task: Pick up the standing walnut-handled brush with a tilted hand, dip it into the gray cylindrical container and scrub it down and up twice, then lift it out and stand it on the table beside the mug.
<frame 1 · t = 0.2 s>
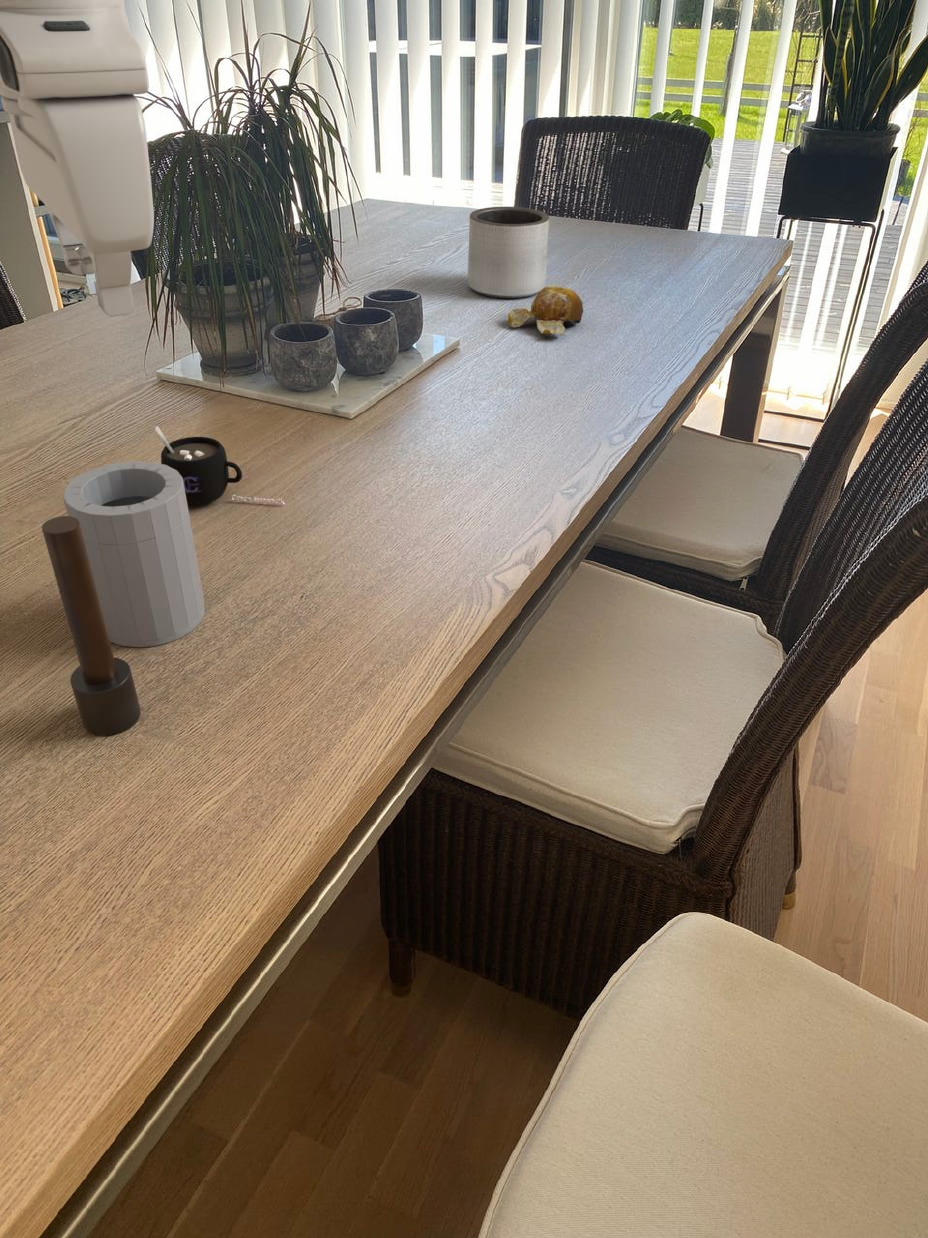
hand: (99, 291, 61), 27 cm above the table, tool pointing down, fingers open, 8 cm apart
mug: (226, 501, 95), on the table
planter: (506, 289, 153), on the table
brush: (111, 717, 68), on the table
gray cylindrical container: (151, 615, 78), on the table
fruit: (538, 348, 137), on the table
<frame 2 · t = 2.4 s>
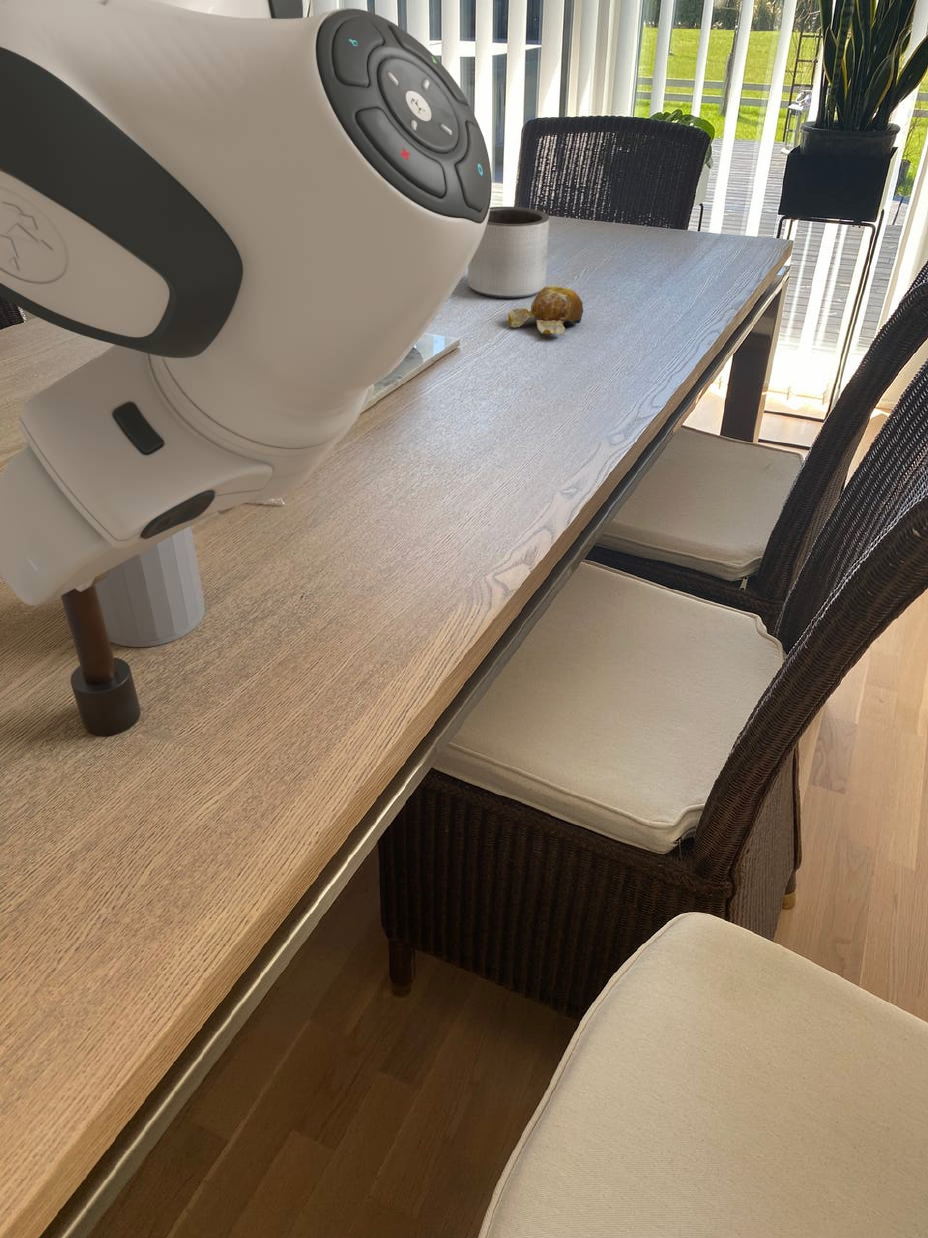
hand: (155, 534, 51), 19 cm above the table, tool tilted 40°, fingers open, 8 cm apart
nothing on the table moved.
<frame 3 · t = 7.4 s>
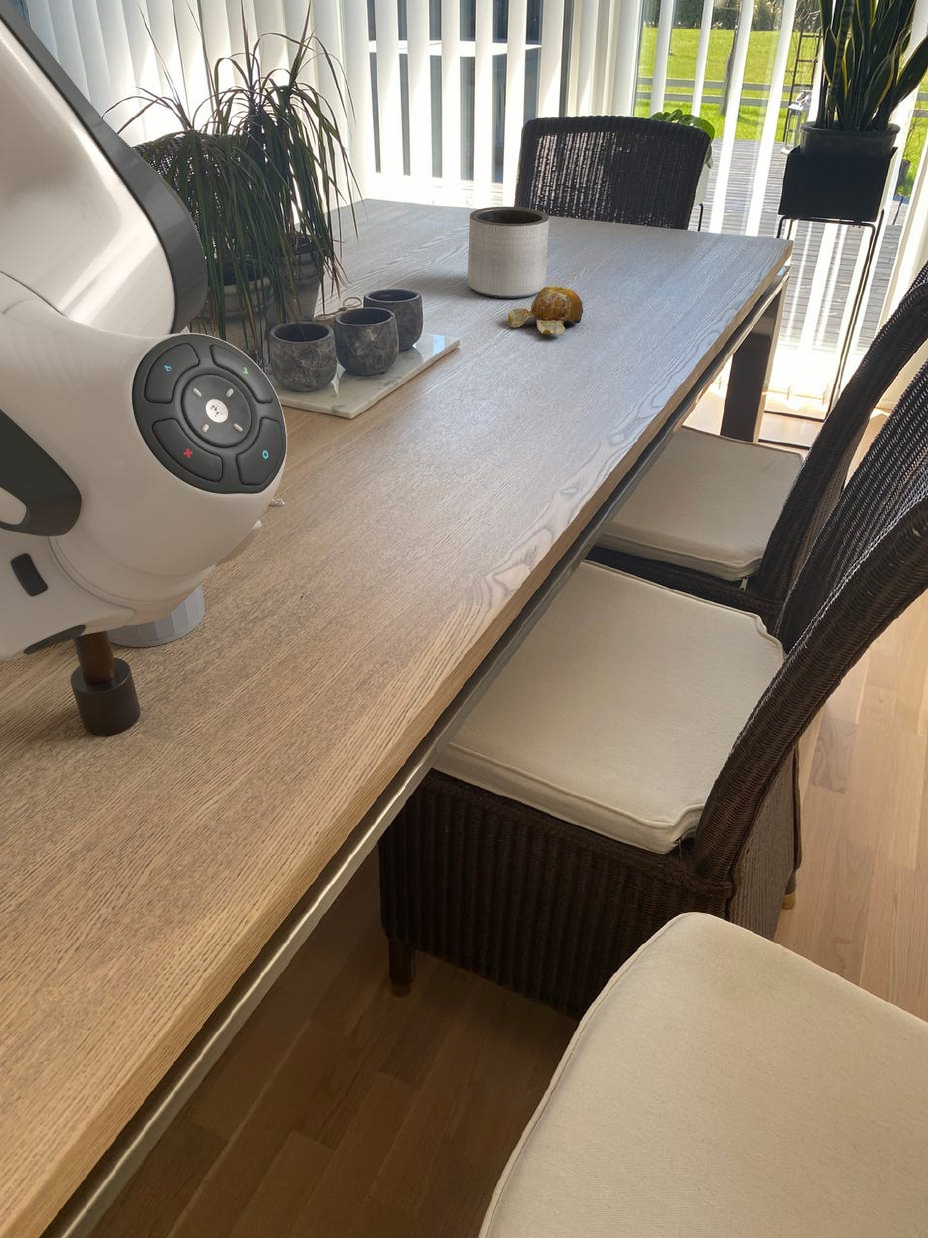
hand: (79, 612, 63), 9 cm above the table, tool tilted 45°, fingers closed on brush, 2 cm apart
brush: (111, 717, 68), on the table, touching gripper
everything else where it was.
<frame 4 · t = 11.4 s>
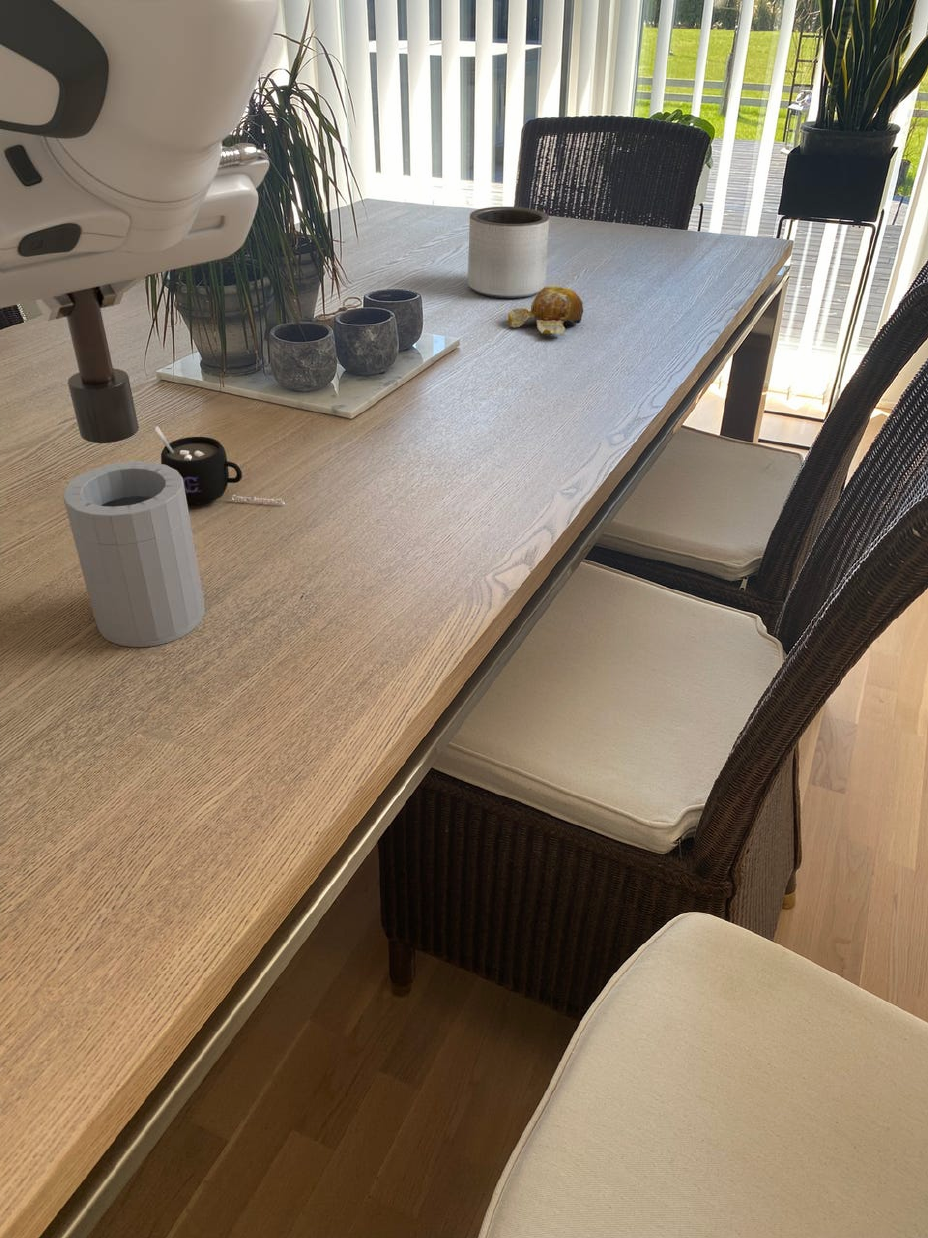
hand: (76, 303, 63), 26 cm above the table, tool tilted 45°, fingers closed on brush, 2 cm apart
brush: (109, 431, 68), point 17 cm above the table, touching gripper
everything else where it was.
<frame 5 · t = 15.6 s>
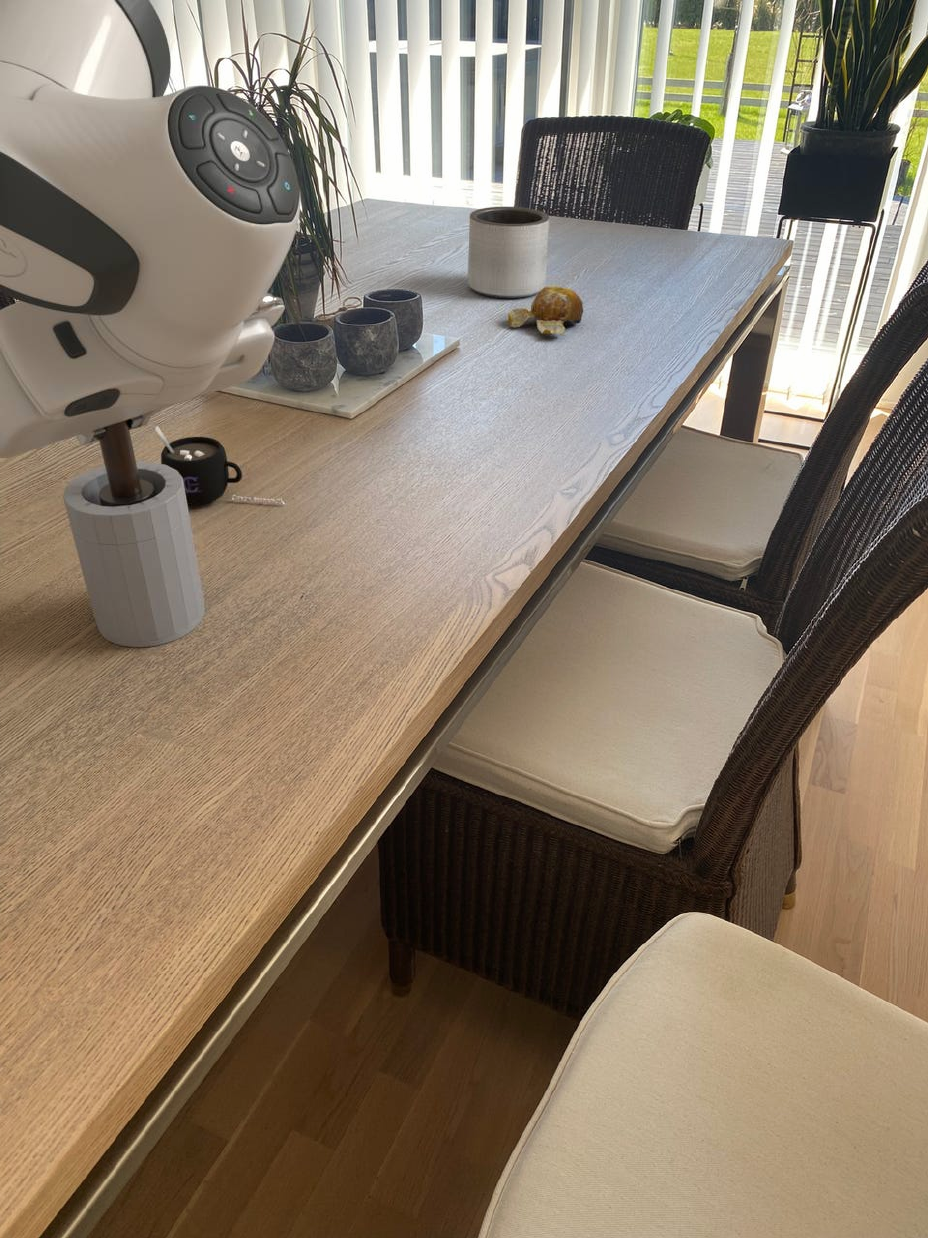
hand: (108, 426, 69), 17 cm above the table, tool tilted 45°, fingers closed on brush, 2 cm apart
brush: (136, 535, 74), point 8 cm above the table, touching gripper
everything else where it was.
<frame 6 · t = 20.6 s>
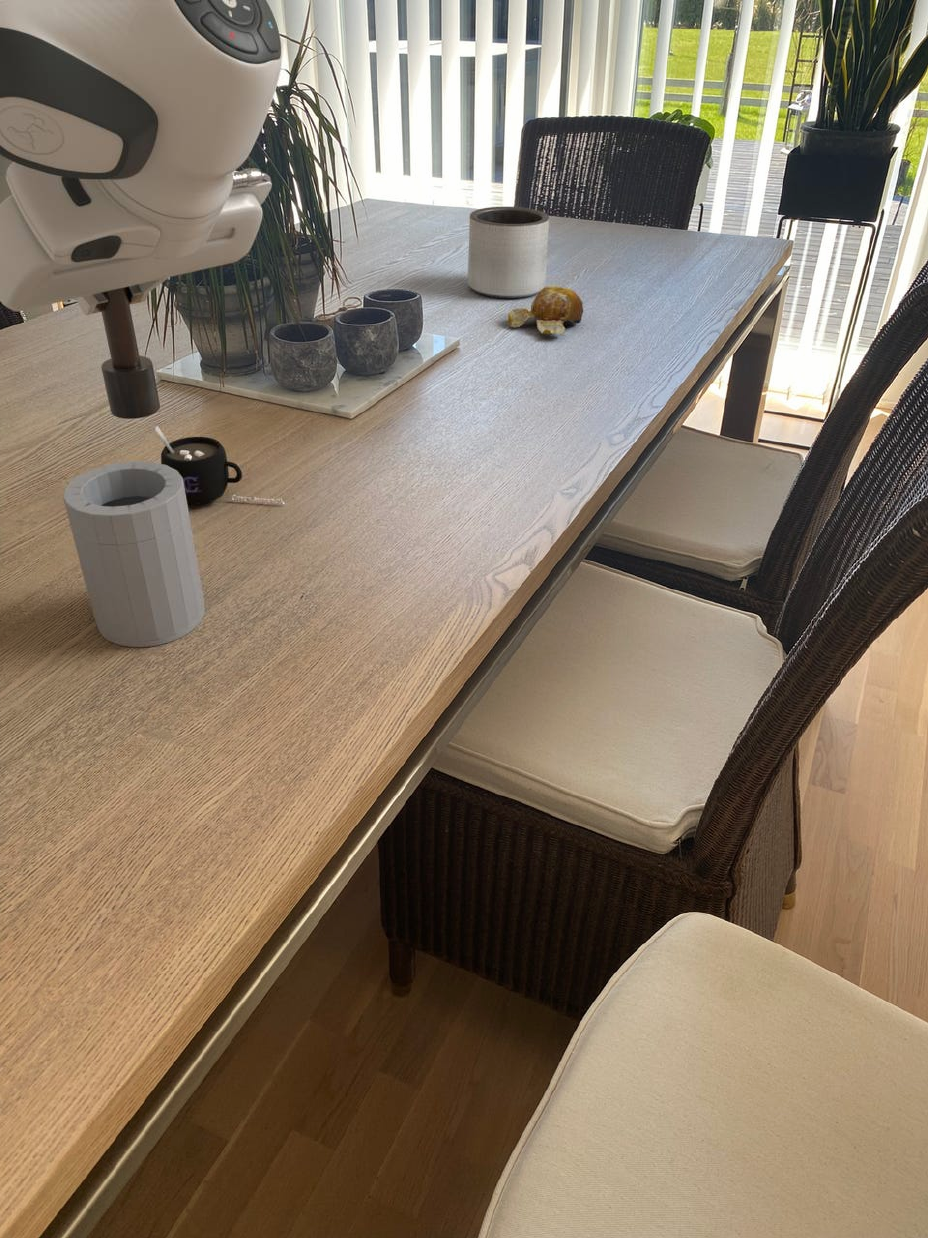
hand: (109, 300, 75), 22 cm above the table, tool tilted 45°, fingers closed on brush, 2 cm apart
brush: (135, 409, 80), point 13 cm above the table, touching gripper
everything else where it was.
when the fingers open (9 cm above the table, at t = 24.3 s): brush stays where it is, on the table.
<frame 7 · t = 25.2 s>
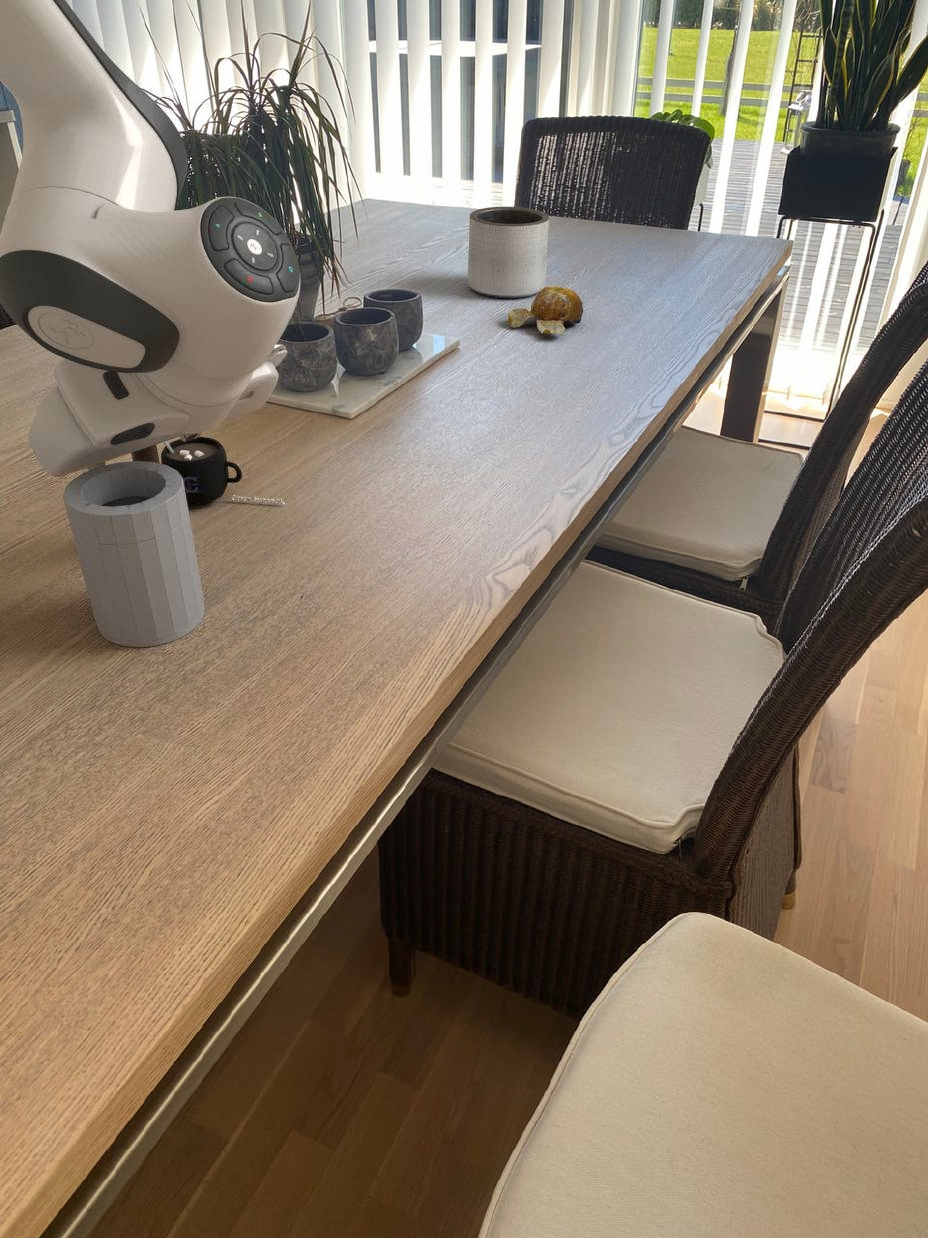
hand: (138, 448, 83), 9 cm above the table, tool tilted 45°, fingers open, 8 cm apart
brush: (162, 543, 88), on the table
everything else where it was.
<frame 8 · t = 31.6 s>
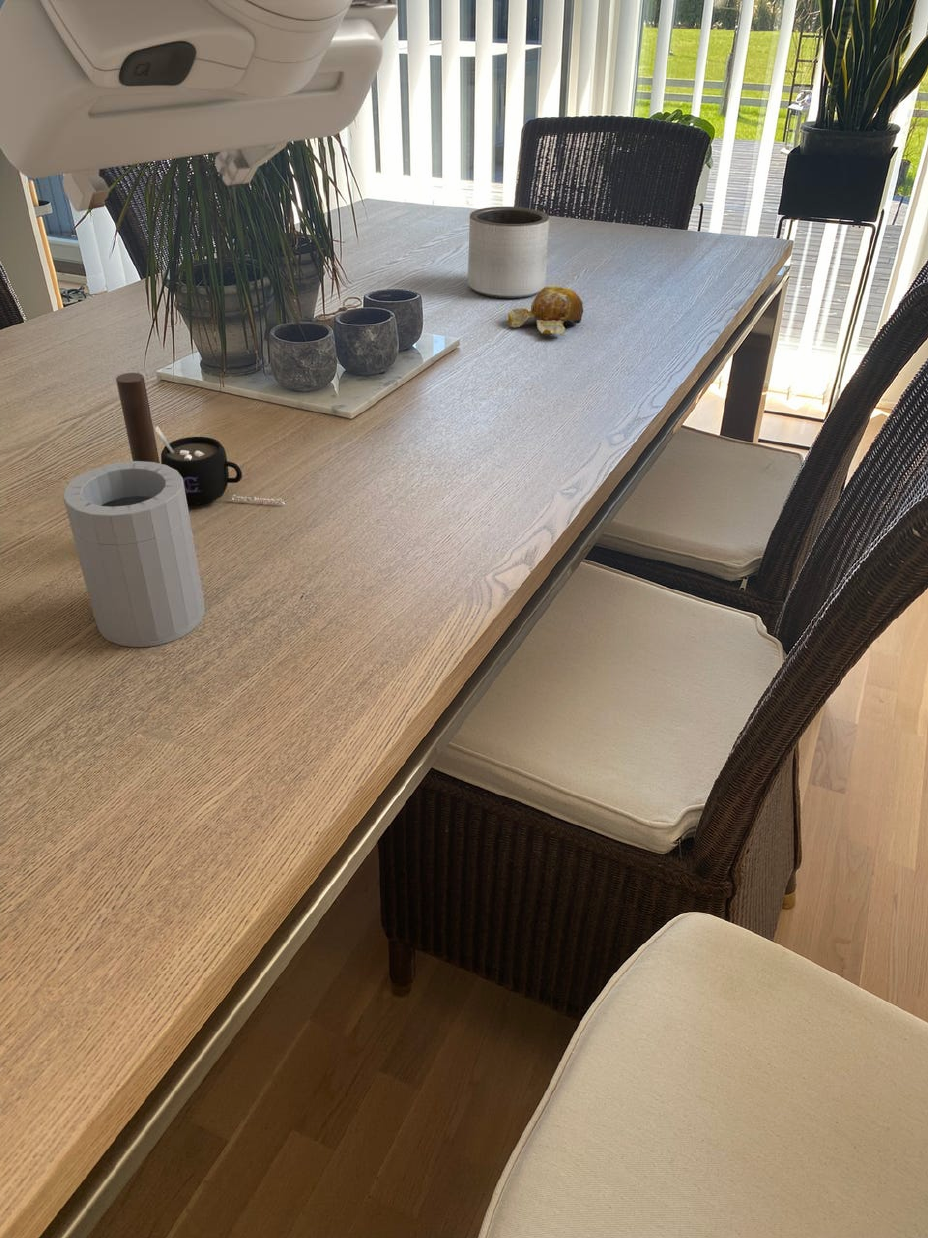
hand: (160, 186, 53), 34 cm above the table, tool tilted 45°, fingers open, 8 cm apart
nothing on the table moved.
at the end: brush 9.4 cm from the mug (horizontally); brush touching table; mug moved 0.2 cm from its start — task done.
